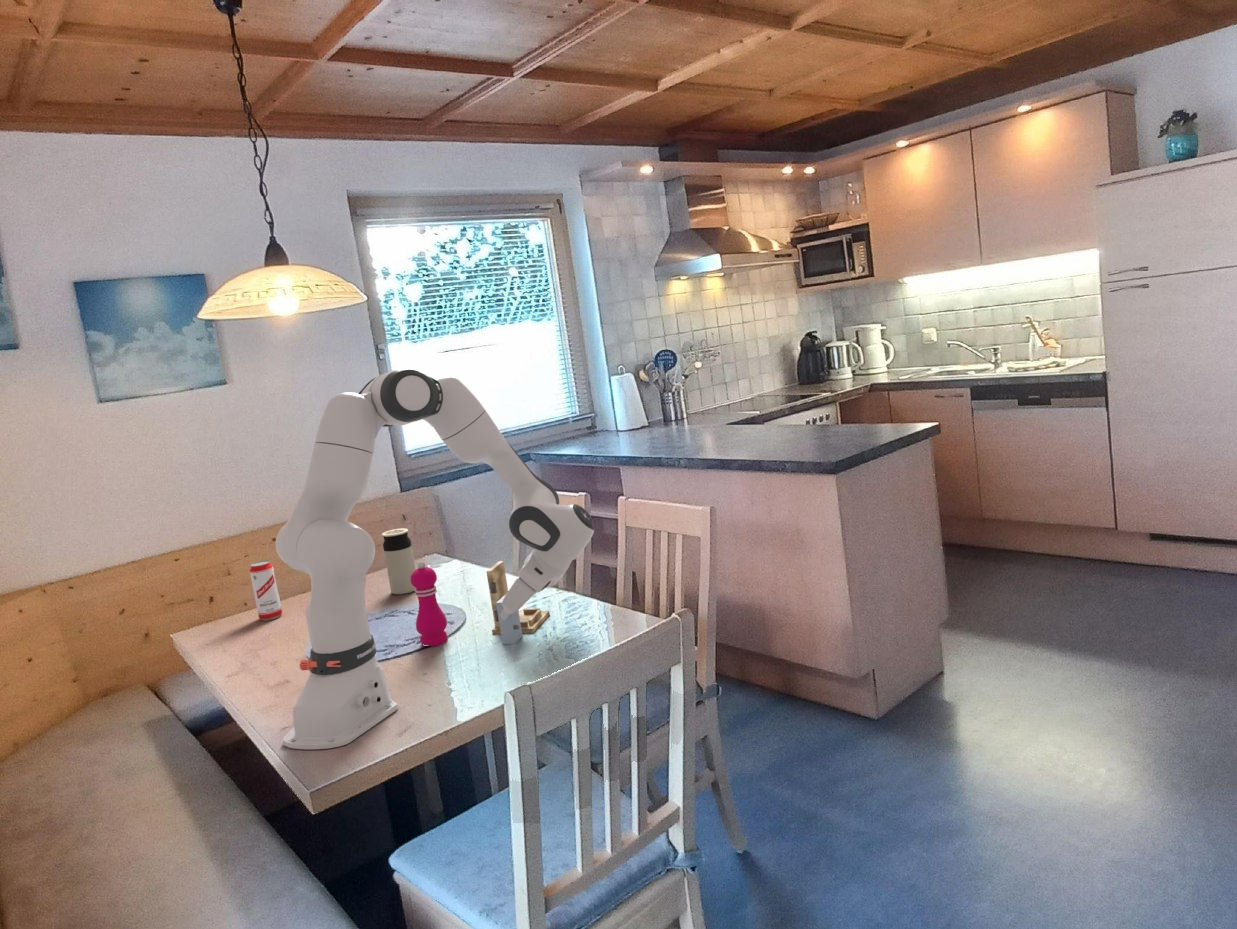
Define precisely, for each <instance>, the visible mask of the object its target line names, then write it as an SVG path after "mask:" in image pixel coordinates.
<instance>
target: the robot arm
mask: <svg viewBox="0 0 1237 929" xmlns="http://www.w3.org/2000/svg"><path fill="white" fill-rule="evenodd" d="M421 420H423V421H425V422H427V423H428V424H429V425H430V426H431V427H433V428H434V430H435V432H436V433H437V435H438V436H439V438H440V439H441V440H442V442H443V444H445V446H446V447H447V448H448V450H449V451H450V452H451V453H452V454H453V455H454V457H457V458H458V459H459V461H461V462H463V463H468V464H480V463H481V464H482V463H483V464H485V465H488V466H489V467H491V468H492V469H493V470H494V471H495V472H496V474H497V475H498V476H499V477H500V478H501V479H502V481H503V482H504V484H506V486H507V487H508V488H509V490H510V491H511V493H512V495H513V499H514V500H513V501H514V502H513V503H514V504H513V508H512V510H511V514H510V517H509V520H508V526H509V530H510V533H511V534H512V536H513V537H514V538H515V539H516V540H517V541H518V542H520V543H522V544H524V545H526V546H528V547H530V548H532V550H531V552H530V553H529V554H528V555H527V557H526V558H525V560H524V562H523V564H522V566H521V568H520V569H519V571H518V572H517V573H516V574H517V576H518V577H516V579H515V581H514V582H513V584H512V585H511V587H510V588H509V589H508V593H507V594H506V596H505V597H504V599H503V601H502V606H503V607H504V609H503V610H502V612H501V613H500V615H499V616H500V617H501V618H502V619H503V620H505V619H507V618H508V616H509V615H510V614H511V613H512V614H514V613H515V612H516V611H518V610H520V609H521V608H522V607H523V606H524V605H525V604H526V603H527V602H528V601H529V600H530V599H531V598H532V597H534V596H535V595H536V594H537V593H541V592H542V591H543V590H545V589H548V588H549V587H553V586H555V585H556V584H557V583H558V582H559V581H560V579H561V578H562V576H564V574H565V573H566V572H567V571H568V569H569V568H570V564H571V563H572V562H573V561H574V559H576V558H577V557H579V556H580V555H581V553H582V552H583V551H584V549H585V548H586V546H587V545H588V544H589V542H590V541H591V540H592V537H593V535H594V533H595V524H594V520H593V518H592V516H591V515H590V513H589V512H588V511H587V510H586V509H585V508H584V507H582V506H581V505H579V504H576V503H573V504H568V505H567V504H560V498H559V495H558V493H557V491H556V489H555V488H554V487H553V486H552V485H550V484H549V483H548V482H546V481H545V480H543V479H542V478H540V477H538V476H537V475H536V474H535V473H534V472H533V471H532V470H531V469H530V467H529V466H528V464H527V463H525V461H524V460H523V459H522V457H521V456H520V455H519V453H518V452H517V451H516V450H515V449H514V448H513V447H512V446H511V445H512V444H510V443H509V441H508V440H507V439H506V438H505V437H504V435H503V433H502V432H501V431H500V430H499V428H498V427H497V425H496V422H494V420H493V419H492V418H491V416H490V415H489V413H488V411H487V410H486V409H485V407H484V406H483V405H482V403H481V402H480V401H479V399H477V398H476V396H475V395H474V394H473V393H472V391H470V389H469V388H468V387H467V386H466V385H465V384H464V383H463V382H461V380H459V378H457V377H455V376H453V375H440V376H437V377H436V378H433V377H431V376H429V375H427V374H425V373H424V372H422V371H420V370H418V369H415V368H409V367H401V368H397V369H393V370H389V371H385V372H383V373H381V374H379V375H378V376H376V377H373V379H371V380H370V381H368V382H367V383H366V384H365V385H364V386H363V387H362V389H361V390H360V391H359V392H358V393H357V392H347V391H346V392H340V393H338V394H335V395H333V396H332V397H331V398H330V399H329V400H328V402H327V404H326V407H325V409H324V411H323V414H322V417H321V419H320V422H319V425H318V428H317V432H316V436H315V440H314V445H313V450H312V454H311V459H310V463H309V467H308V471H307V475H306V476H307V477H306V479H305V483H304V486H303V489H302V491H301V494H300V496H299V499H298V500H297V503H296V505H295V506H294V508H293V511H292V513H291V515H290V517H289V519H288V521H287V522H286V523H285V524H283V526H282V527H281V528H280V529H279V531H278V532H277V534H276V539H275V550H276V553H277V556H278V557H279V558H280V560H281V561H282V562H283V563H285V565H287V566H288V567H289V568H291V569H293V570H294V571H296V572H300V573H305V574H307V575H309V578H310V586H311V587H310V599H309V603H308V605H307V606H306V608H305V619H306V625H307V629H308V634H309V639H310V640H309V641H310V645H311V649H310V653H309V659H301V660H300V662H299V665H298V667H299V670H301V671H309V676H308V677H307V680H306V681H305V684H304V686H303V688H302V690H301V692H300V694H299V696H298V698H297V700H296V702H295V704H294V706H293V708H292V719H293V727H292V728H291V729H290V730H289V731H288V733H286V734H285V735H284V737H283V738H282V745H283V746H284V747H286V748H289V749H294V750H325V749H332V748H338V747H342V746H345V745H348V744H349V743H351V742H352V741H355V740H356V739H357V738H358V737H360V736H361V735H362V734H364V733H365V732H367V731H368V730H370V729H371V728H372V727H374V726H376V725H377V724H379V723H380V722H381V721H383V720H384V719H385V718H387V717H389V716H391V714H393V713H394V712H396V711H397V710H398V709H399V707H398V704H397V702H396V701H395V700H393V699H392V696H391V692H390V689H389V688H390V687H389V685H388V681H387V678H386V674H385V670H384V669H383V667H382V666H381V664H380V663H379V661H378V660H377V657H376V654H377V648H376V641H375V640H374V636H373V634H372V633H371V630H370V624H369V618H368V612H367V606H366V597H365V596H366V579H367V573H368V570H369V569H370V568H371V566H372V564H373V562H374V559H375V557H376V556H375V554H376V546H375V541H374V539H373V538H372V536H371V534H370V533H368V532H367V531H366V530H365V529H363V528H362V527H361V526H358V525H357V524H355V523H353V522H351V521H348V519H349V517H350V515H351V513H352V510H353V509H354V507H355V505H356V504H357V503H358V501H359V500H360V499H361V498H363V496H364V495H365V493H366V490H367V488H368V487H367V486H368V480H369V476H370V471H371V467H372V466H371V465H372V461H373V455H374V450H375V445H376V439H377V436H378V435H379V432H380V430H381V429H382V428H384V427H385V428H387V427H393V426H395V427H396V426H399V427H400V426H404V425H405V426H406V425H409V424H411V423H415V422H418V421H421Z"/></svg>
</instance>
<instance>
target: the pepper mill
mask: <svg viewBox="0 0 1237 929" xmlns="http://www.w3.org/2000/svg"><path fill="white" fill-rule="evenodd" d="M437 579H438V577H437V574H436V571H435V569H433V568H432V567H429V566H426V562H425V561H422V560H421V561H418V562H417V568H416V570H415V571H414V572H413V573H412V575H411V584H412V585H413V586H414V587H415V588H416V589H415V591H414V592H415V597H417V601H418V611H417V616H416V619H415V620H416V621H415V627H416V628H415V629H416V631H417V633H418V634H419V635H421V636H420V637H419V641H420V645H421V644H424V645H429V646H433V647H438V646H440V644H441V645H443V644H444V643H446V642H447V641H448V633H447V631H445V630H446V628H447V627H448V621H447V617H446V615H445V613H444V611H443V610H442V608H441V607H440V605H439V602H438V601H437V598H436V597H437V595H436V593H437V592H438V590H437V585H435V584H436V582H437Z"/></svg>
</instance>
